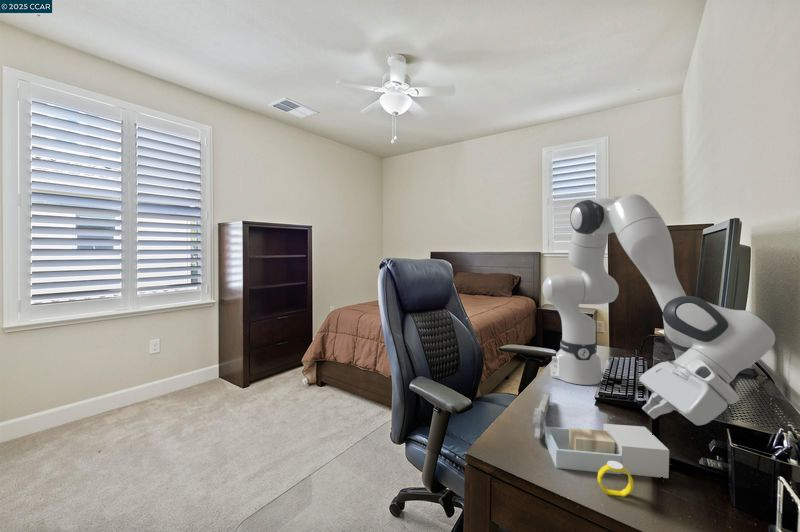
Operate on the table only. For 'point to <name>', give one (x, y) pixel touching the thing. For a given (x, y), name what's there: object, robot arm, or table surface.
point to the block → (591, 441)
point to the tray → (575, 453)
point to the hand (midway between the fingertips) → (647, 413)
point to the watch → (616, 468)
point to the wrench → (540, 416)
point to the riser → (639, 450)
